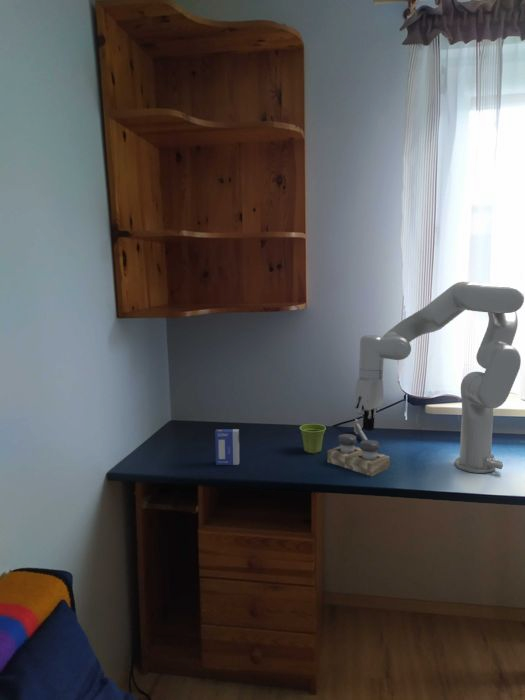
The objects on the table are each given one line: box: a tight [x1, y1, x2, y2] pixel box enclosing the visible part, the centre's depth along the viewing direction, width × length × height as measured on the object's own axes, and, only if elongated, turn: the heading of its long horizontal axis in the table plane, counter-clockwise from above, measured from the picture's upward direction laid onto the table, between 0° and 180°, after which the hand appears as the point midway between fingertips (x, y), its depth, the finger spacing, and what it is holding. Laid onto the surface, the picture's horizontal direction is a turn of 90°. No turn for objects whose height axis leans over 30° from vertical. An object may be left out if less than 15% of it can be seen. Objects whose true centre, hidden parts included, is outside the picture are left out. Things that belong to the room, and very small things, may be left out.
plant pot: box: [299, 423, 327, 454], centre depth 192 cm, size 9×9×9 cm
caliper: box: [353, 418, 369, 441], centre depth 203 cm, size 20×1×6 cm, turn 7°
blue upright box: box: [214, 428, 240, 466], centre depth 180 cm, size 8×3×12 cm, turn 90°
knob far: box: [337, 433, 357, 454], centre depth 181 cm, size 6×6×6 cm
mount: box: [326, 445, 391, 477], centre depth 178 cm, size 18×10×4 cm, turn 44°
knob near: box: [359, 439, 380, 461], centre depth 174 cm, size 6×6×6 cm
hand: (368, 429), depth 173 cm, fingers closed
